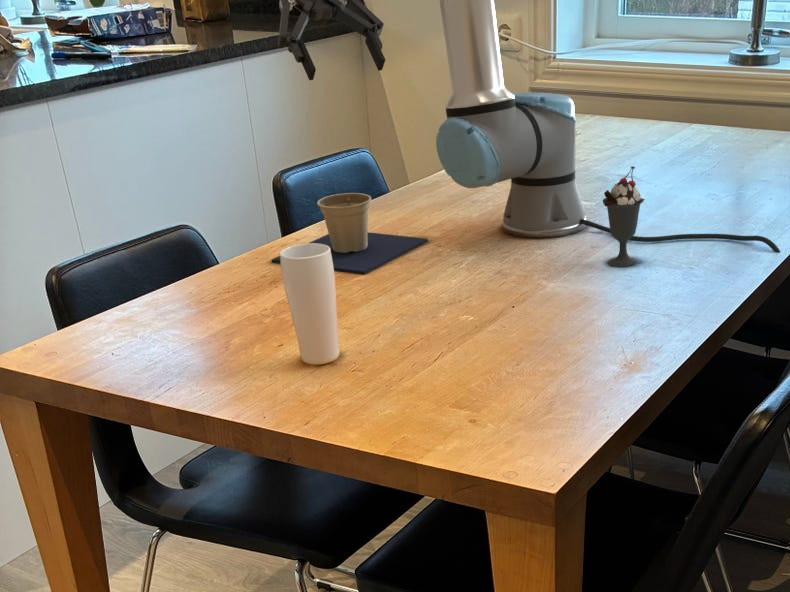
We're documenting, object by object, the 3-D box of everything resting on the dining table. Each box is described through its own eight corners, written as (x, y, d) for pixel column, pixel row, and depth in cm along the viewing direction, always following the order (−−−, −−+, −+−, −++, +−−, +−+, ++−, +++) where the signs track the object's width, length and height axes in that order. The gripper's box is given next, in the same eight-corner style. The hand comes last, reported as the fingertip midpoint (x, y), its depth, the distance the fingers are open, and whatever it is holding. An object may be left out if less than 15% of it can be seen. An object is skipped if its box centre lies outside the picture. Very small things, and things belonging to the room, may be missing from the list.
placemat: (428, 241, 188) (427, 238, 188) (364, 274, 174) (364, 271, 173) (339, 231, 197) (338, 229, 197) (271, 262, 183) (271, 259, 182)
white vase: (297, 351, 145) (280, 245, 137) (346, 347, 145) (332, 240, 138) (294, 370, 139) (276, 260, 132) (344, 366, 140) (330, 255, 132)
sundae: (646, 256, 173) (649, 163, 165) (638, 269, 167) (640, 173, 160) (607, 255, 175) (608, 163, 167) (598, 267, 169) (598, 173, 162)
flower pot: (367, 256, 180) (362, 206, 176) (316, 256, 182) (309, 207, 178) (382, 241, 188) (377, 192, 184) (333, 241, 190) (327, 193, 186)
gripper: (361, -17, 199) (404, 75, 195) (236, -4, 188) (279, 93, 185) (370, -48, 192) (414, 46, 188) (241, -37, 182) (285, 63, 178)
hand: (347, 70), depth 186 cm, fingers open, 13 cm apart
